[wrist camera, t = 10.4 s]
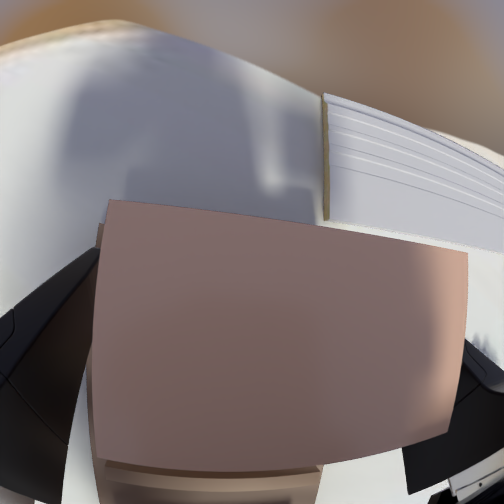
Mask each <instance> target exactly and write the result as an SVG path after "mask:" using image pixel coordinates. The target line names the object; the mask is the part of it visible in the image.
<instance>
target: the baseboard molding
mask: <svg viewBox="0 0 504 504" xmlns="http://www.w3.org/2000/svg"><path fill="white" fill-rule="evenodd" d="M321 98H322V106H323V132H324V221H330V222H336V223H342V224H348V225H354V226H360V227H366V228H372V229H378V230H383V231H389V232H395V233H400V234H405V235H411V236H416V237H421V238H426V239H432V240H437V241H442V242H447V243H452V244H456V245H461V246H466V247H471V248H475V249H480V250H484V251H489V252H493V253H498V254H502V255H504V170H503V169H501V168H499V167H498V166H496V165H494V164H493V163H491V162H489V161H488V160H486V159H484V158H482V157H480V156H479V155H477V154H475V153H473V152H471V151H470V150H468V149H466V148H464V147H462V146H460V145H458V144H456V143H454V142H452V141H450V140H448V139H446V138H444V137H442V136H440V135H438V134H435V133H433V132H431V131H429V130H427V129H424V128H422V127H420V126H417V125H415V124H413V123H410V122H408V121H405V120H403V119H401V118H398V117H395V116H393V115H390V114H388V113H385V112H382V111H380V110H376V109H374V108H371V107H368V106H366V105H363V104H360V103H357V102H354V101H350V100H347V99H344V98H341V97H337V96H334V95H331V94H327V93H323V94H322V95H321Z"/></svg>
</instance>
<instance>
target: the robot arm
mask: <svg viewBox="0 0 504 504" xmlns="http://www.w3.org/2000/svg"><path fill="white" fill-rule="evenodd" d="M100 251H101V248H96V247H93V248H91V249H89V250H88V251H86V252H85V253H84V254H82V255H81V256H79V257H78V258H76V259H75V260H74V261H72V262H71V263H70V264H68V265H67V266H65V267H64V268H63V269H61V270H60V271H59V272H57V273H56V274H55V275H53V276H52V277H51V278H49V279H48V280H47V281H46V282H44V283H43V284H42V285H40V286H39V287H38V288H37V289H35V290H34V291H33V292H31V293H30V294H29V295H28V296H26V297H25V298H24V299H23V300H22V301H20V302H19V303H18V304H17V305H15V306H14V307H13V309H10V310H9V311H8V312H7V313H6V314H5V315H3V316H2V317H1V318H0V504H34V501H35V500H37V501H40V502H43V503H46V504H61V501H62V490H63V480H64V472H65V464H66V457H67V451H68V446H67V445H68V444H69V438H70V432H71V427H72V422H73V417H74V412H75V407H76V403H77V398H78V394H79V390H80V385H81V381H82V377H83V373H84V369H85V366H86V362H87V358H88V355H89V351H90V348H91V344H92V338H93V318H94V304H95V293H96V283H97V274H98V265H99V258H100ZM402 453H403V460H404V467H405V474H406V482H407V491H408V495H411V494H413V493H416V492H418V491H421V490H423V489H426V488H428V487H431V486H433V485H435V484H437V483H440V482H442V481H444V480H446V479H447V480H448V483H449V487H447V488H446V489H444V490H442V491H440V492H438V493H436V494H433V495H431V497H430V500H429V502H428V504H504V371H503V370H502V369H501V368H500V367H498V366H497V365H496V364H495V363H494V362H492V361H491V360H490V359H489V358H487V357H486V356H485V355H484V354H483V353H481V352H480V351H479V350H478V349H477V348H475V347H474V346H473V345H472V344H471V343H470V342H469V341H467V340H466V339H465V340H464V348H463V356H462V363H461V370H460V376H459V382H458V387H457V392H456V397H455V402H454V407H453V411H452V415H451V419H450V423H449V427H448V431H447V432H446V433H444V434H441V435H438V436H435V437H433V438H430V439H427V440H424V441H421V442H418V443H415V444H411V445H408V446H405V447H402Z"/></svg>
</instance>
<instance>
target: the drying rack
mask: <svg viewBox="0 0 504 504" xmlns="http://www.w3.org/2000/svg"><path fill="white" fill-rule="evenodd" d="M104 225H105V224H102V223H99V228H98V233H97V240H96V246H95V247H96V248H101V244H102V237H103V231H104ZM86 372H87V405H88V421H89V433H90V443H91V452H92V460H93V467H94V474H95V480H96V486H97V491H98V497H99V502H100V504H315V500H316V496H317V492H318V488H319V484H320V479H321V475H322V470H323V466H324V465H317V466H310V467H302V468H293V469H282V470H268V471H246V472H213V471H191V470H177V469H166V468H157V467H149V466H142V465H135V464H129V463H123V462H118V461H112V460H107V459H103V458H98V457H97V453H96V444H95V433H94V420H93V401H92V344H91V348H90V351H89V355H88V358H87V362H86Z"/></svg>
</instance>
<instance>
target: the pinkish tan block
mask: <svg viewBox="0 0 504 504" xmlns="http://www.w3.org/2000/svg"><path fill="white" fill-rule="evenodd" d="M467 299H468V253H466V252H461V251H456V250H451V249H446V248H441V247H436V246H431V245H426V244H420V243H415V242H410V241H404V240H399V239H393V238H388V237H382V236H377V235H371V234H365V233H359V232H353V231H347V230H341V229H335V228H329V227H323V226H316V225H310V224H303V223H297V222H290V221H283V220H277V219H270V218H263V217H255V216H248V215H241V214H233V213H226V212H218V211H210V210H202V209H194V208H185V207H177V206H168V205H159V204H150V203H141V202H131V201H121V200H111V199H109V204H108V209H107V214H106V220H105V225H104V231H103V237H102V244H101V251H100V258H99V265H98V274H97V283H96V293H95V304H94V318H93V338H92V401H93V420H94V433H95V444H96V453H97V457H98V458H103V459H107V460H112V461H118V462H123V463H129V464H135V465H142V466H149V467H157V468H166V469H177V470H191V471H213V472H246V471H268V470H282V469H293V468H302V467H310V466H317V465H324V464H330V463H336V462H342V461H347V460H352V459H357V458H362V457H366V456H371V455H375V454H379V453H383V452H387V451H391V450H394V449H398V448H401V447H405V446H408V445H411V444H415V443H418V442H421V441H424V440H427V439H430V438H433V437H435V436H438V435H441V434H444V433H446V432H447V431H448V427H449V423H450V419H451V415H452V411H453V407H454V402H455V397H456V392H457V387H458V382H459V376H460V370H461V363H462V356H463V348H464V340H465V330H466V317H467Z"/></svg>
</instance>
